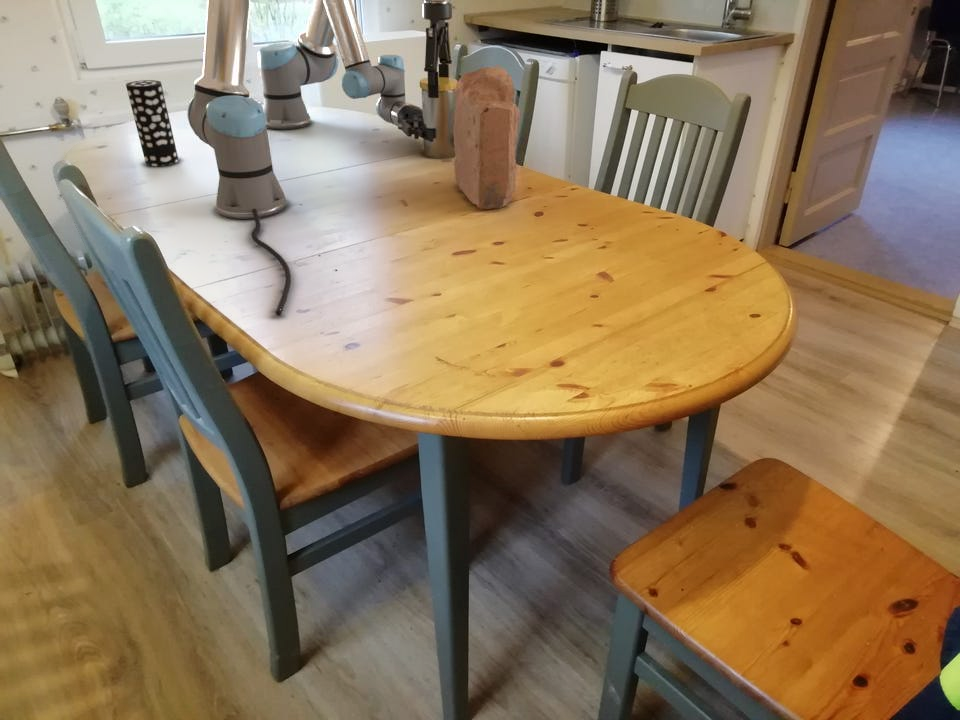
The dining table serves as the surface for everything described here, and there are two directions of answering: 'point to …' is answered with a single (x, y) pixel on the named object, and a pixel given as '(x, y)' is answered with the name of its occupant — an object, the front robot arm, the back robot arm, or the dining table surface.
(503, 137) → the stone
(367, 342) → the dining table surface
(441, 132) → the jar
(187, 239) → the dining table surface
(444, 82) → the lid
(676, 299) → the dining table surface
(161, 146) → the black white spotted cylinder
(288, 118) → the back robot arm
